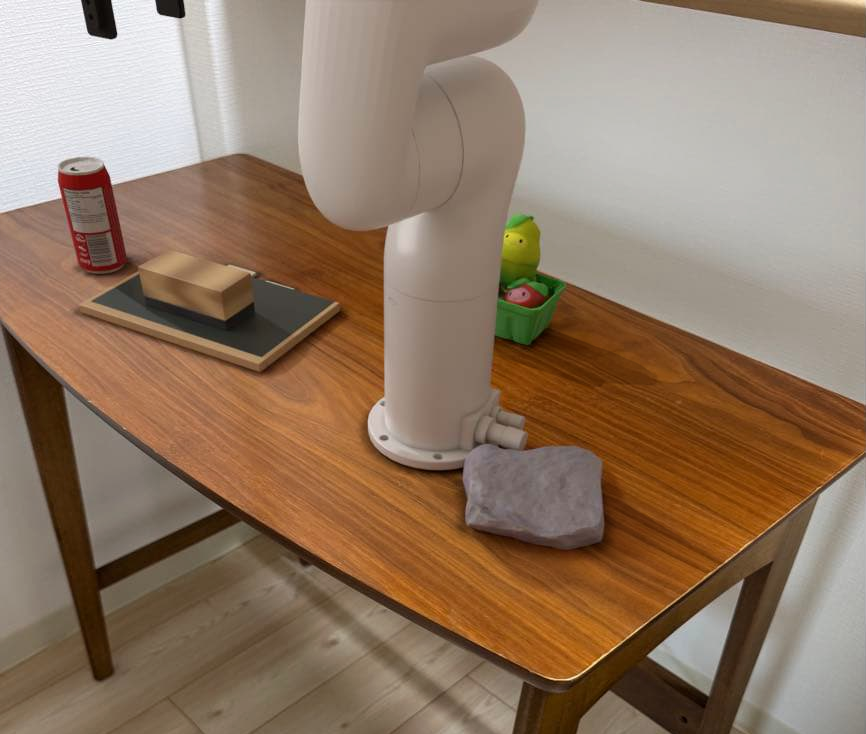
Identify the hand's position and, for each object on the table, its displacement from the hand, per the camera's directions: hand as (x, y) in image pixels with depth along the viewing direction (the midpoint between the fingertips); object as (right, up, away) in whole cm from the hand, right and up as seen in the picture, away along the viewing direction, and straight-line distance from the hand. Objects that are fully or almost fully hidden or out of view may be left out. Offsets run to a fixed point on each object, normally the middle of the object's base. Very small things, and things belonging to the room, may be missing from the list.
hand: (138, 26), depth 88 cm
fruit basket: (+37, -26, +12) cm, 47 cm away
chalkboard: (+4, -25, +12) cm, 28 cm away
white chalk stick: (+11, -21, +17) cm, 29 cm away
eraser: (+3, -25, +10) cm, 27 cm away
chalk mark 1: (+6, -18, +19) cm, 27 cm away
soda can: (-11, -17, +20) cm, 28 cm away
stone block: (+37, -48, -12) cm, 62 cm away
